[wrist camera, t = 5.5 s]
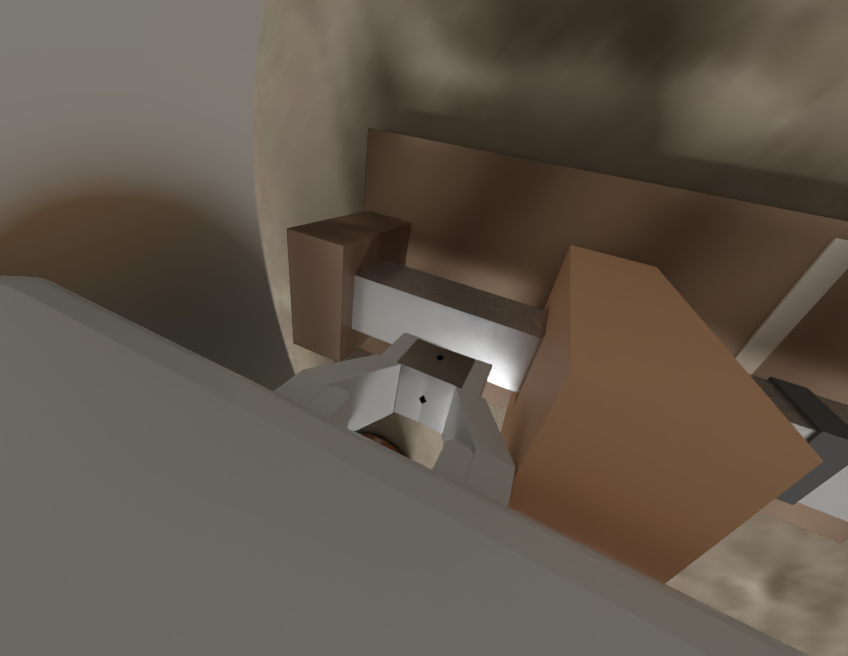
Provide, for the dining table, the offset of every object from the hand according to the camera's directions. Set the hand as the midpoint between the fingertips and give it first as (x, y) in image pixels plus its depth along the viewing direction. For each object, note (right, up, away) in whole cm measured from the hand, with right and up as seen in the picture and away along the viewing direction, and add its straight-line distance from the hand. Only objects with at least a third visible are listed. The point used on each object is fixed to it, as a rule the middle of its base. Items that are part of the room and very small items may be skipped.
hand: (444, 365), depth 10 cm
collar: (+6, +1, +3) cm, 7 cm away
